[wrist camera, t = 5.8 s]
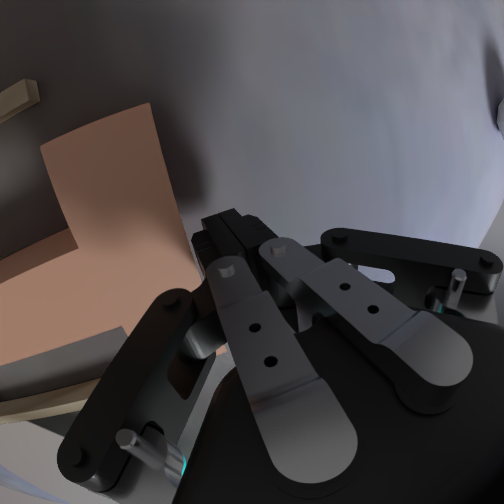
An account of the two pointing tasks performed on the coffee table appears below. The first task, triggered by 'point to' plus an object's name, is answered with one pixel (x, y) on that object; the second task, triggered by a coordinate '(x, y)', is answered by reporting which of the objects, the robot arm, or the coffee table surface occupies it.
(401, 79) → the coffee table surface
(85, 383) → the frame
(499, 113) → the geometric ball
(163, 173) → the t piece
